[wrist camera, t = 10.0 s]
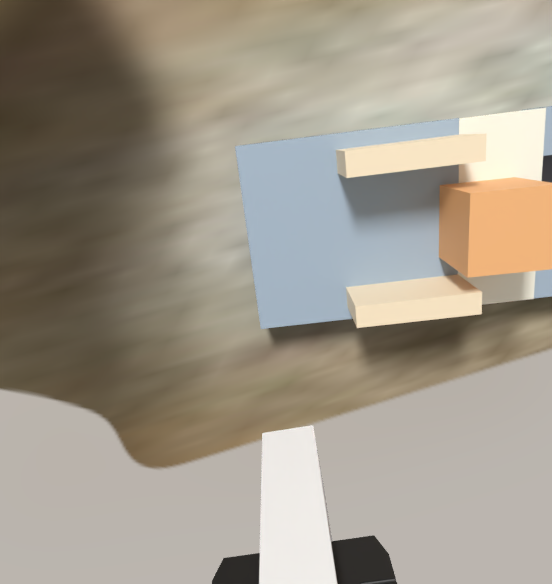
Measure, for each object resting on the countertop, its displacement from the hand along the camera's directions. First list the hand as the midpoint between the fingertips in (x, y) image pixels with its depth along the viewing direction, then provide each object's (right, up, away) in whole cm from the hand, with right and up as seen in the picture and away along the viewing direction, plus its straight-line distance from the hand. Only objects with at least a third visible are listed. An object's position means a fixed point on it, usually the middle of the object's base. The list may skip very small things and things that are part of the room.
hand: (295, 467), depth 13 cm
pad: (+15, +11, +20) cm, 28 cm away
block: (+13, +10, +18) cm, 24 cm away
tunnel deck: (+11, +11, +20) cm, 26 cm away
